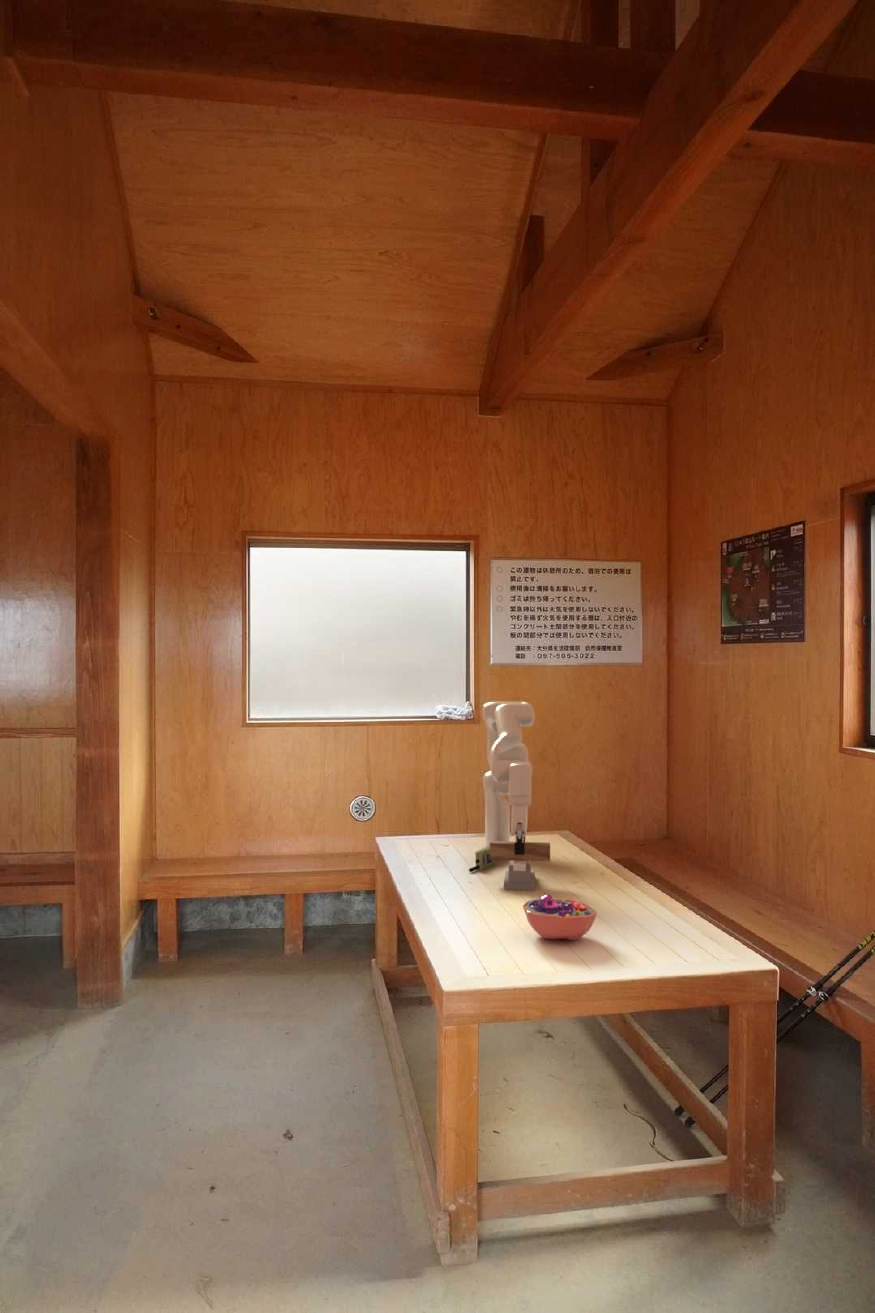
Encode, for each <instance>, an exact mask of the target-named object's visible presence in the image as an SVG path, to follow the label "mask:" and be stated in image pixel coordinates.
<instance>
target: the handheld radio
mask: <svg viewBox="0 0 875 1313" xmlns="http://www.w3.org/2000/svg"><path fill="white" fill-rule="evenodd" d="M502 861H504V860H490V846H489V847H486V848H484V849H479V850H477V851H475V861H474V862H475V866H473V867H469V868H468V871H469V873H472V872H474V871H476V870H477V871H482V870H485V869H487V868H489V867H491V866H493V865H496V864H497V863H501V862H502Z"/></svg>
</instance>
